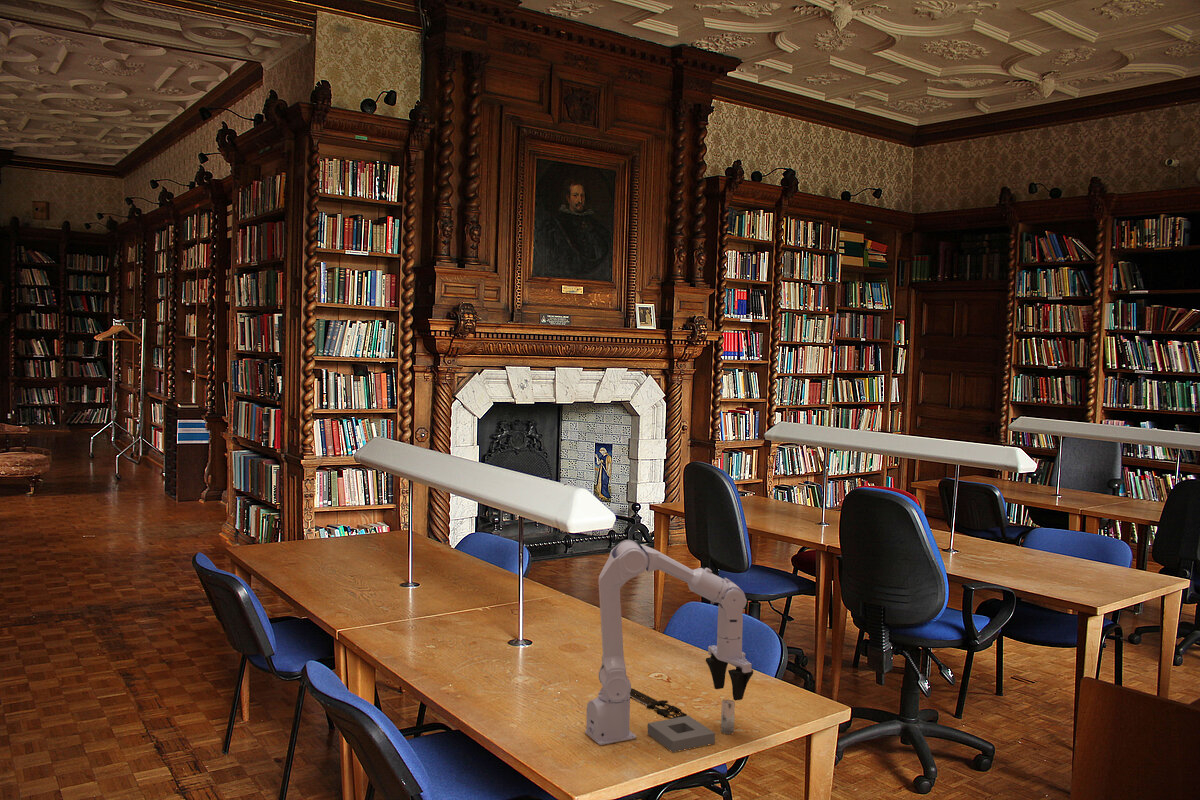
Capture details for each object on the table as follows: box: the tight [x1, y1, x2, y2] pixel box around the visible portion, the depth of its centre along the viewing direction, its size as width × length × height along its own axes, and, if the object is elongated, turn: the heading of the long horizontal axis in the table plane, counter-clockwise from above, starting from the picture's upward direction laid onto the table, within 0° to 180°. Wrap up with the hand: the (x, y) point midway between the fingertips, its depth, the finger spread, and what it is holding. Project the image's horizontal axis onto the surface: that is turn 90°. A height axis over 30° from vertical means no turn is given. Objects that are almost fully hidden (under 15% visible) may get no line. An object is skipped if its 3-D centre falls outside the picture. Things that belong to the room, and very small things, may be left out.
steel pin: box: [720, 699, 736, 735], centre depth 213 cm, size 3×3×7 cm
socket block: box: [647, 715, 716, 753], centre depth 209 cm, size 11×11×2 cm
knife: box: [630, 687, 688, 719], centre depth 231 cm, size 25×6×1 cm, turn 30°
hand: (728, 693), depth 213 cm, fingers open, 7 cm apart
